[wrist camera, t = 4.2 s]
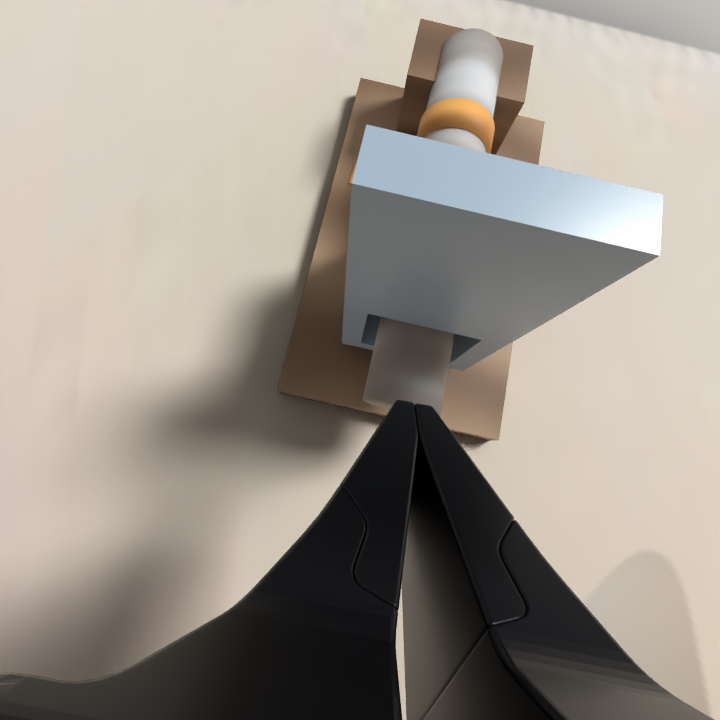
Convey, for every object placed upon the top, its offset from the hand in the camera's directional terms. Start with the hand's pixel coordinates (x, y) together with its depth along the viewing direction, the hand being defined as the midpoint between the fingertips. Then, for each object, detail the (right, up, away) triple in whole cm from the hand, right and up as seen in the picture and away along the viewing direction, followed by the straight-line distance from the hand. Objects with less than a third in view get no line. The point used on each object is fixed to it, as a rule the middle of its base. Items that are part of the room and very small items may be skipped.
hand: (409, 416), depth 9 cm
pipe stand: (+2, +7, +11) cm, 13 cm away
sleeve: (+1, +3, +9) cm, 9 cm away
